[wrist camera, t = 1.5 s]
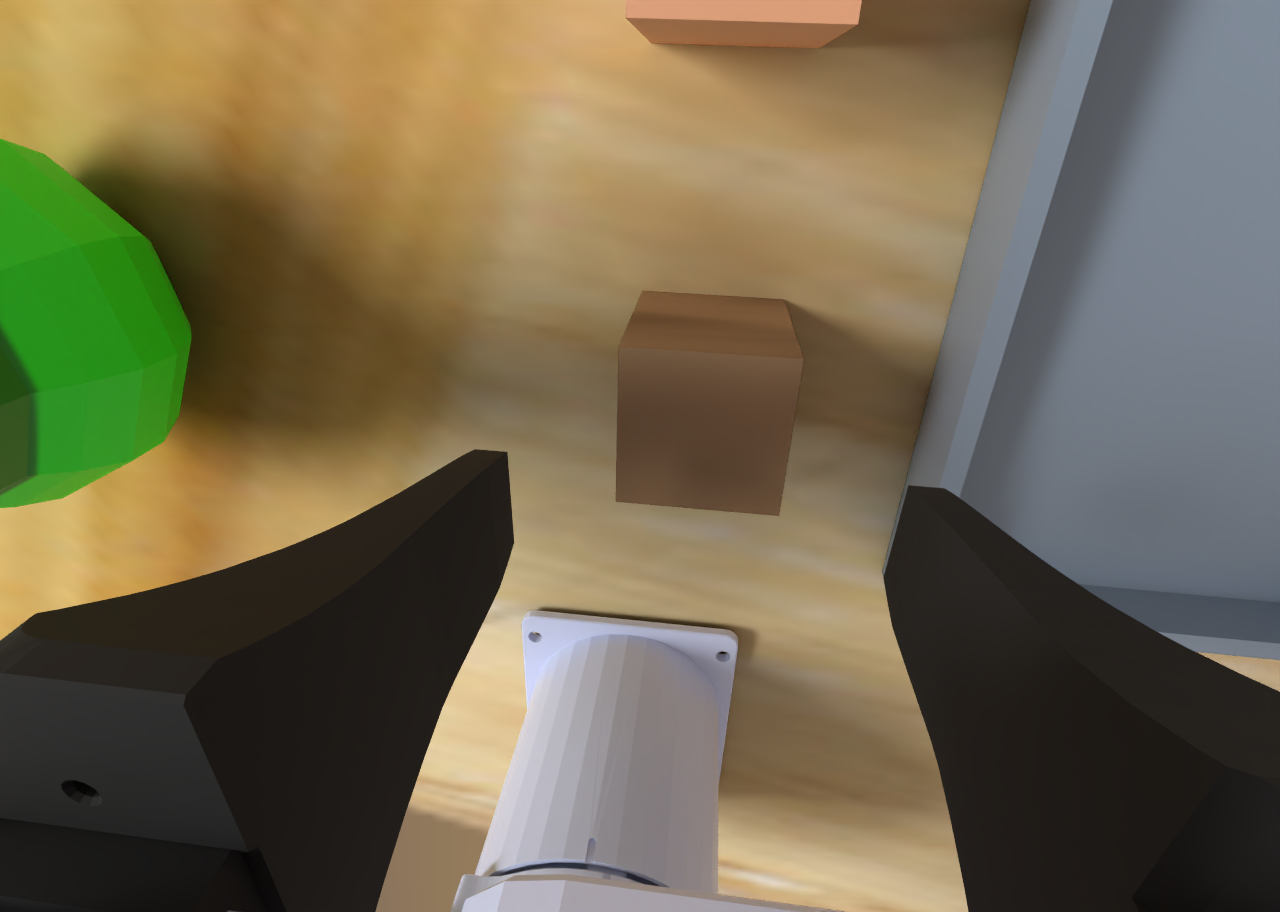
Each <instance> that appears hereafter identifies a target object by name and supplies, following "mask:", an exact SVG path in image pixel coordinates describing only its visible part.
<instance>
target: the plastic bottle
mask: <svg viewBox="0 0 1280 912" xmlns="http://www.w3.org/2000/svg"><path fill="white" fill-rule="evenodd" d="M191 339H192V334H191V326H190V324H189V321H188V319H187V317H186V315H185V313H184V311H183V309H182V305H181V303H180V301H179V299H178V297H177V295H176V293H175V291H174V289H173V287H172V284H171V282H170V280H169V278H168V276H167V274H166V272H165V270H164V268H163V265H162V263H161V261H160V259H159V257H158V255H157V253H156V252H155V250H154V248H153V246H152V244H151V242H150V240H148V239H147V238H146V237H145V236H144V235H142V234H141V233H140V232H139V231H138V230H136V229H135V228H134V227H133V226H132V225H130V224H129V223H128V222H127V221H126V220H124V219H123V218H122V217H121V216H119V215H118V214H117V213H116V212H115V211H113V210H112V209H111V208H110V207H109V206H107V205H106V204H105V203H104V202H103V201H101V200H100V199H99V198H98V197H97V196H95V195H94V194H93V193H92V192H91V191H89V190H88V189H87V188H86V187H85V186H83V185H82V184H81V183H80V182H79V181H77V180H76V179H75V178H74V177H73V176H71V175H70V174H69V173H68V172H66V171H65V170H64V169H63V168H61V167H60V166H59V165H58V164H56V163H55V162H54V161H53V160H51V159H50V158H49V157H47V156H46V155H45V154H42V153H40V152H37V151H34V150H31V149H28V148H25V147H23V146H20V145H17V144H14V143H11V142H8V141H5V140H3V139H0V508H6V507H18V506H23V505H29V504H34V503H39V502H45V501H50V500H55V499H61V498H64V497H66V496H67V495H69V494H71V493H73V492H75V491H77V490H79V489H80V488H82V487H84V486H86V485H88V484H90V483H92V482H93V481H95V480H97V479H99V478H101V477H103V476H105V475H106V474H108V473H110V472H112V471H114V470H116V469H118V468H120V467H121V466H123V465H125V464H127V463H129V462H131V461H132V460H134V459H136V458H137V457H139V456H141V455H142V454H144V453H146V452H147V451H149V450H151V449H152V448H154V447H156V446H157V445H159V444H161V443H162V442H164V441H165V439H166V437H167V435H168V434H169V432H170V430H171V428H172V427H173V425H174V423H175V421H176V420H177V418H178V416H179V413H180V407H181V401H182V394H183V388H184V382H185V376H186V370H187V364H188V358H189V351H190V345H191Z"/></svg>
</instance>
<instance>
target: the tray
mask: <svg viewBox="0 0 1280 912" xmlns="http://www.w3.org/2000/svg"><path fill="white" fill-rule="evenodd" d="M908 485H912V486H924V487H936V488H945V489H947V490H948V491H950V492H951V493H953V494H954V495H956V496H957V497H959V498H960V499H962V500H963V501H964V502H966V503H967V504H969V505H970V506H971V507H973V508H974V509H975V510H977V511H978V512H979V513H981V514H982V515H983V516H985V517H986V518H987V519H988V520H990V521H991V522H992V523H994V524H995V525H996V526H998V527H999V528H1000V529H1002V530H1003V531H1004V532H1006V533H1007V534H1008V535H1010V536H1011V537H1012V538H1014V539H1015V540H1016V541H1018V542H1019V543H1020V544H1022V545H1023V546H1024V547H1026V548H1027V549H1028V550H1030V551H1031V552H1032V553H1034V554H1035V555H1037V556H1038V557H1039V558H1041V559H1042V560H1044V561H1045V562H1046V563H1048V564H1049V565H1051V566H1052V567H1054V568H1055V569H1056V570H1058V571H1059V572H1061V573H1062V574H1064V575H1065V576H1067V577H1068V578H1070V579H1071V580H1073V581H1074V582H1076V583H1077V584H1079V585H1080V586H1082V587H1083V588H1085V589H1086V590H1088V591H1089V592H1091V593H1092V594H1094V595H1095V596H1097V597H1099V598H1100V599H1102V600H1104V601H1105V602H1107V603H1108V604H1110V605H1112V606H1113V607H1115V608H1117V609H1118V610H1120V611H1122V612H1124V613H1125V614H1127V615H1129V616H1131V617H1132V618H1134V619H1136V620H1137V621H1139V622H1141V623H1143V624H1144V625H1146V626H1148V627H1150V628H1151V629H1153V630H1155V631H1157V632H1158V633H1160V634H1162V635H1164V636H1166V637H1168V638H1170V639H1172V640H1173V641H1175V642H1177V643H1179V644H1181V645H1183V646H1185V647H1187V648H1189V649H1191V650H1193V651H1195V652H1202V653H1213V654H1223V655H1233V656H1243V657H1253V658H1264V659H1274V660H1280V0H1031V2H1030V6H1029V9H1028V13H1027V17H1026V21H1025V25H1024V29H1023V32H1022V36H1021V40H1020V44H1019V48H1018V52H1017V55H1016V59H1015V63H1014V67H1013V71H1012V75H1011V79H1010V82H1009V86H1008V90H1007V94H1006V98H1005V102H1004V105H1003V109H1002V113H1001V117H1000V121H999V125H998V128H997V132H996V136H995V140H994V144H993V148H992V152H991V155H990V159H989V163H988V167H987V171H986V175H985V178H984V182H983V186H982V190H981V194H980V198H979V201H978V205H977V209H976V213H975V217H974V221H973V225H972V228H971V232H970V236H969V240H968V244H967V248H966V251H965V255H964V259H963V263H962V267H961V271H960V274H959V278H958V282H957V286H956V290H955V294H954V298H953V301H952V305H951V309H950V313H949V317H948V321H947V324H946V328H945V332H944V336H943V340H942V344H941V347H940V351H939V355H938V359H937V363H936V367H935V371H934V374H933V378H932V382H931V386H930V390H929V394H928V397H927V401H926V405H925V409H924V413H923V417H922V420H921V424H920V428H919V432H918V436H917V440H916V444H915V447H914V451H913V455H912V459H911V463H910V467H909V470H908V474H907V478H906V482H905V486H904V490H903V493H902V497H901V501H900V505H899V509H898V513H897V517H896V520H895V524H894V528H893V532H892V536H891V540H890V543H889V547H888V551H887V555H886V559H885V563H884V566H883V570H882V573H883V576H884V573H885V569H886V566H887V562H888V558H889V555H890V551H891V547H892V544H893V540H894V536H895V533H896V529H897V525H898V522H899V518H900V514H901V510H902V507H903V503H904V499H905V496H906V492H907V488H908Z"/></svg>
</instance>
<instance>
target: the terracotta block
mask: <svg viewBox="0 0 1280 912" xmlns="http://www.w3.org/2000/svg"><path fill="white" fill-rule="evenodd" d="M861 3H862V0H626V19H627V20H628V21H630V22H631V23H632V24H633V25H634V26H635V27H636V28H637V29H638V30H639V31H640V32H641V33H642V34H643V35H644V36H645V37H646V38H647V39H648V40H649V41H650V42H651V43H665V44H697V45H728V46H760V47H791V48H820V47H822V46H824V45H825V44H827V43H829V42H830V41H832V40H833V39H835V38H837V37H838V36H840V35H842V34H843V33H845V32H847V31H848V30H850V29H851V28H853V27H855V26H856V25H858V21H859V15H860V9H861Z"/></svg>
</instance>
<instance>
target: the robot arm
mask: <svg viewBox="0 0 1280 912" xmlns="http://www.w3.org/2000/svg"><path fill="white" fill-rule="evenodd" d="M513 544H514V534H513V521H512V508H511V495H510V482H509V469H508V456H507V452H500V451H488V450H476V449H475V450H473V451H471V452H469V453H467V454H465V455H463V456H461V457H459V458H458V459H456V460H454V461H452V462H451V463H449V464H447V465H446V466H444V467H442V468H441V469H439V470H437V471H436V472H434V473H432V474H431V475H429V476H427V477H426V478H424V479H422V480H421V481H419V482H417V483H415V484H414V485H412V486H410V487H409V488H407V489H405V490H404V491H402V492H400V493H398V494H397V495H395V496H393V497H391V498H389V499H387V500H386V501H384V502H382V503H380V504H378V505H376V506H374V507H372V508H371V509H369V510H367V511H365V512H363V513H361V514H359V515H357V516H355V517H354V518H352V519H350V520H348V521H346V522H344V523H342V524H339V525H337V526H335V527H333V528H331V529H329V530H326V531H324V532H322V533H320V534H317V535H315V536H313V537H310V538H308V539H306V540H303V541H301V542H298V543H296V544H294V545H291V546H289V547H286V548H283V549H281V550H278V551H275V552H272V553H269V554H266V555H264V556H261V557H258V558H255V559H252V560H249V561H246V562H244V563H241V564H238V565H235V566H232V567H229V568H226V569H223V570H220V571H217V572H213V573H210V574H206V575H203V576H200V577H196V578H193V579H189V580H186V581H182V582H178V583H174V584H171V585H167V586H163V587H159V588H155V589H151V590H147V591H143V592H139V593H135V594H130V595H126V596H121V597H116V598H112V599H107V600H102V601H97V602H92V603H87V604H82V605H78V606H73V607H68V608H63V609H58V610H53V611H47V612H41V613H37V614H35V615H33V616H32V617H30V618H29V619H28V620H26V621H25V622H24V623H23V624H21V625H20V626H19V627H17V628H16V629H15V630H14V631H12V632H11V633H10V634H8V635H7V636H6V637H5V638H3V639H2V640H1V641H0V912H375V911H376V907H377V903H378V900H379V897H380V893H381V890H382V886H383V883H384V879H385V877H386V873H387V870H388V867H389V864H390V861H391V857H392V854H393V851H394V848H395V845H396V842H397V838H398V835H399V832H400V829H401V825H402V822H403V819H404V816H405V813H406V810H407V807H408V804H409V801H410V798H411V795H412V792H413V789H414V786H415V783H416V780H417V777H418V775H419V772H420V769H421V766H422V763H423V760H424V757H425V754H426V751H427V749H428V746H429V743H430V740H431V738H432V735H433V732H434V729H435V727H436V724H437V721H438V718H439V715H440V713H441V710H442V707H443V705H444V703H445V701H446V698H447V696H448V694H449V691H450V689H451V687H452V685H453V683H454V680H455V678H456V676H457V674H458V672H459V670H460V668H461V666H462V664H463V662H464V660H465V658H466V656H467V654H468V652H469V650H470V648H471V646H472V644H473V642H474V640H475V638H476V636H477V634H478V632H479V630H480V628H481V625H482V623H483V621H484V619H485V617H486V615H487V613H488V611H489V609H490V607H491V605H492V603H493V601H494V599H495V596H496V594H497V592H498V590H499V588H500V585H501V582H502V579H503V576H504V573H505V570H506V567H507V564H508V561H509V557H510V554H511V551H512V548H513ZM884 583H885V589H886V595H887V601H888V607H889V612H890V617H891V622H892V627H893V630H894V633H895V636H896V639H897V642H898V645H899V648H900V651H901V654H902V657H903V660H904V663H905V666H906V669H907V672H908V675H909V678H910V681H911V683H912V686H913V689H914V692H915V695H916V698H917V701H918V704H919V707H920V710H921V713H922V715H923V718H924V721H925V724H926V727H927V730H928V733H929V736H930V739H931V742H932V745H933V749H934V752H935V756H936V759H937V762H938V766H939V770H940V775H941V779H942V783H943V788H944V792H945V797H946V801H947V806H948V810H949V814H950V819H951V823H952V828H953V833H954V838H955V843H956V848H957V853H958V858H959V863H960V868H961V873H962V878H963V883H964V888H965V894H966V899H967V905H968V911H969V912H1280V692H1279V691H1277V690H1275V689H1272V688H1270V687H1268V686H1266V685H1264V684H1261V683H1259V682H1257V681H1255V680H1252V679H1250V678H1248V677H1246V676H1244V675H1242V674H1239V673H1237V672H1235V671H1233V670H1231V669H1229V668H1227V667H1225V666H1223V665H1221V664H1219V663H1217V662H1215V661H1213V660H1211V659H1209V658H1207V657H1205V656H1203V655H1201V654H1199V653H1197V652H1195V651H1193V650H1191V649H1189V648H1187V647H1185V646H1183V645H1181V644H1179V643H1177V642H1175V641H1173V640H1172V639H1170V638H1168V637H1166V636H1164V635H1162V634H1160V633H1158V632H1157V631H1155V630H1153V629H1151V628H1150V627H1148V626H1146V625H1144V624H1143V623H1141V622H1139V621H1137V620H1136V619H1134V618H1132V617H1131V616H1129V615H1127V614H1125V613H1124V612H1122V611H1120V610H1118V609H1117V608H1115V607H1113V606H1112V605H1110V604H1108V603H1107V602H1105V601H1104V600H1102V599H1100V598H1099V597H1097V596H1095V595H1094V594H1092V593H1091V592H1089V591H1088V590H1086V589H1085V588H1083V587H1082V586H1080V585H1079V584H1077V583H1076V582H1074V581H1073V580H1071V579H1070V578H1068V577H1067V576H1065V575H1064V574H1062V573H1061V572H1059V571H1058V570H1056V569H1055V568H1054V567H1052V566H1051V565H1049V564H1048V563H1046V562H1045V561H1044V560H1042V559H1041V558H1039V557H1038V556H1037V555H1035V554H1034V553H1032V552H1031V551H1030V550H1028V549H1027V548H1026V547H1024V546H1023V545H1022V544H1020V543H1019V542H1018V541H1016V540H1015V539H1014V538H1012V537H1011V536H1010V535H1008V534H1007V533H1006V532H1004V531H1003V530H1002V529H1000V528H999V527H998V526H996V525H995V524H994V523H992V522H991V521H990V520H988V519H987V518H986V517H985V516H983V515H982V514H981V513H979V512H978V511H977V510H975V509H974V508H973V507H971V506H970V505H969V504H967V503H966V502H964V501H963V500H962V499H960V498H959V497H957V496H956V495H954V494H953V493H951V492H950V491H948V490H947V489H945V488H936V487H924V486H912V485H908V488H907V492H906V496H905V499H904V503H903V507H902V510H901V514H900V518H899V522H898V525H897V529H896V533H895V536H894V540H893V544H892V547H891V551H890V555H889V558H888V562H887V566H886V569H885V573H884ZM533 632H537V633H539V634H540V635H536V634H534V633H533ZM522 638H523V653H524V668H525V683H526V698H527V713H526V716H525V719H524V722H523V725H522V729H521V732H520V735H519V738H518V741H517V744H516V747H515V750H514V754H513V757H512V760H511V763H510V766H509V769H508V772H507V775H506V779H505V782H504V785H503V788H502V791H501V794H500V797H499V800H498V804H497V807H496V810H495V813H494V816H493V819H492V822H491V825H490V829H489V832H488V835H487V838H486V841H485V844H484V847H483V850H482V854H481V857H480V860H479V863H478V866H477V869H476V872H475V875H471V874H465V875H463V876H462V879H461V882H460V885H459V887H458V891H457V894H456V897H455V900H454V903H453V905H452V908H451V911H450V912H844V911H838V910H831V909H823V908H816V907H808V906H801V905H793V904H786V903H779V902H771V901H764V900H756V899H749V898H742V897H734V896H727V895H719V894H718V787H719V780H720V773H721V765H722V758H723V751H724V744H725V737H726V730H727V723H728V716H729V708H730V701H731V694H732V687H733V680H734V673H735V666H736V659H737V651H738V638H737V636H736V634H735V633H734V632H732V631H730V630H726V629H717V628H707V627H697V626H687V625H677V624H667V623H657V622H648V621H638V620H628V619H618V618H608V617H598V616H588V615H578V614H568V613H558V612H548V611H538V610H533V611H529V612H527V613H526V614H525V615H524V618H523V621H522ZM721 651H724V652H727V654H720V653H718V652H721Z"/></svg>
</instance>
